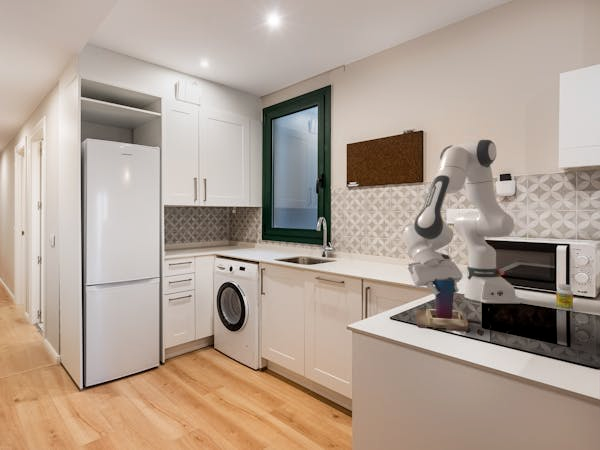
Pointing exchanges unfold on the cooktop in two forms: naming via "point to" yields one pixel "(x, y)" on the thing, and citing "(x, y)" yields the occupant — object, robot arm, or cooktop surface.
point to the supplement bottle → (564, 297)
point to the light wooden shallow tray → (440, 320)
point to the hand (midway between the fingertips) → (447, 293)
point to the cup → (444, 298)
